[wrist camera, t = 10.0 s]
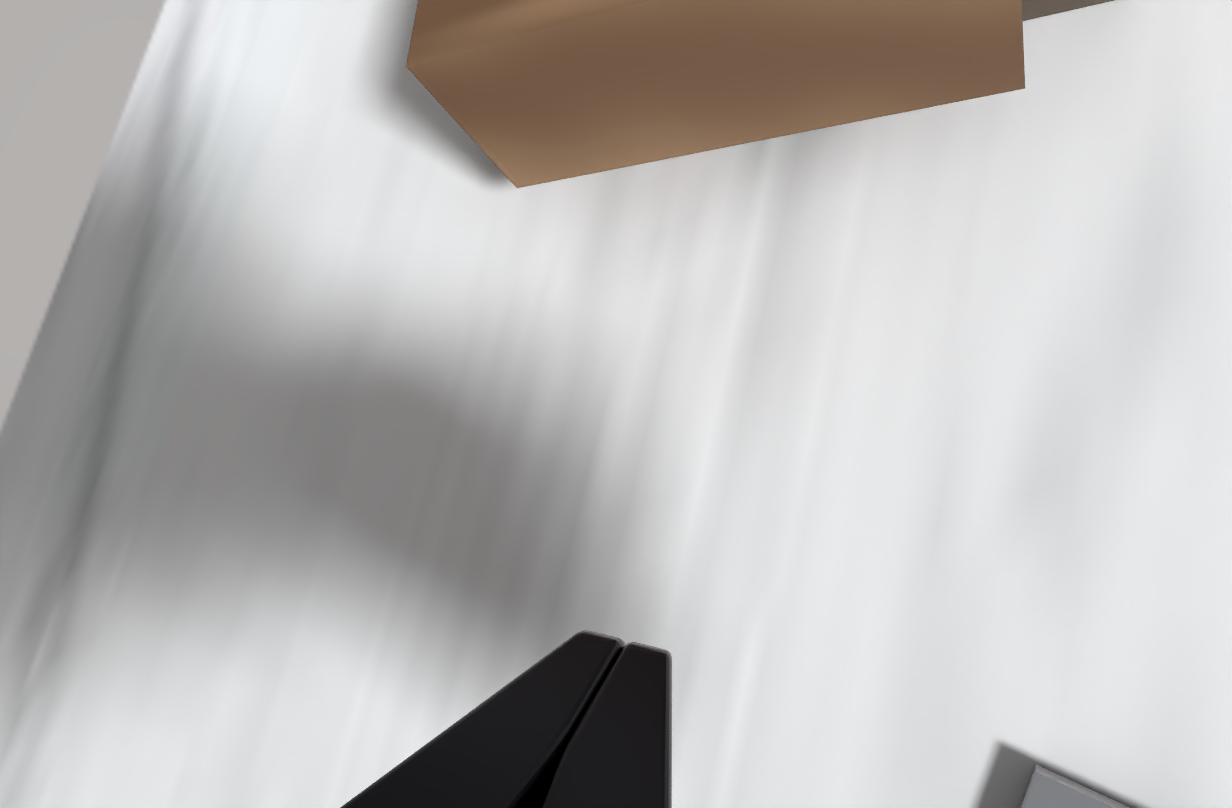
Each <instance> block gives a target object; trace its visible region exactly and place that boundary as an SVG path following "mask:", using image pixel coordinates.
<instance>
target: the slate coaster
mask: <svg viewBox="0 0 1232 808" xmlns="http://www.w3.org/2000/svg"><path fill="white" fill-rule="evenodd" d="M1020 808H1130V807H1128V806H1126V805H1124V804H1121V803H1119V802H1117V801H1115V800H1113V799H1111V798H1108V797H1106V796H1104V795H1102V794H1100V793H1097V792H1095V791H1093V790H1091V789H1089V788H1087V787H1084V786H1082V785H1080V784H1078V783H1076V782H1074V781H1071V780H1069V779H1067V778H1065V777H1063V776H1060V775H1058V774H1056V773H1054V772H1052V771H1050V770H1047V769H1045V768H1043V767H1041V766H1039V765H1037V764H1036V766H1035V769H1034V772H1033V774H1032V777H1031V780H1030V783H1029V785H1028V788H1027V791H1026V794H1025V796H1024V799H1023V802H1022V804H1021V807H1020Z"/></svg>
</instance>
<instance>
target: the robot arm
mask: <svg viewBox="0 0 1232 808" xmlns="http://www.w3.org/2000/svg"><path fill="white" fill-rule="evenodd" d="M341 808H672V657H671V654H670V653H669V652H668V651H667V650H664V649H660V648H656V647H652V646H648V645H644V644H640V643H636V642H631V643H628V644H627V645H626V644H625V642H624V641H623V640H621V639H619V638H616V637H612V636H608V635H604V634H600V633H596V632H592V631H582V632H579V633H577V634H575V635H574V636H572V637H571V638H570V639H568V640H567V641H566V642H564V643H563V644H562V645H560V646H559V647H558V648H556V649H555V650H553V651H552V652H551V653H549V654H548V655H547V656H545V657H544V658H543V659H541V660H540V661H539V662H537V663H536V664H534V665H533V666H532V667H530V668H529V669H528V670H526V671H525V672H524V673H522V674H521V675H520V676H518V677H517V678H515V679H514V680H513V681H511V682H510V683H509V684H507V685H506V686H505V687H503V688H502V689H501V690H499V691H498V692H496V693H495V694H494V695H492V696H491V697H490V698H488V699H487V700H486V701H484V702H483V703H482V704H480V705H479V706H478V707H476V708H475V709H473V710H472V711H471V712H469V713H468V714H467V715H465V716H464V717H463V718H461V719H460V720H459V721H457V722H456V723H454V724H453V725H452V726H450V727H449V728H448V729H446V730H445V731H444V732H442V733H441V734H440V735H438V736H437V737H435V738H434V739H433V740H431V741H430V742H429V743H427V744H426V745H425V746H423V747H422V748H421V749H419V750H418V751H416V752H415V753H414V754H412V755H411V756H410V757H408V758H407V759H406V760H404V761H403V762H402V763H400V764H399V765H398V766H396V767H395V768H393V769H392V770H391V771H389V772H388V773H387V774H385V775H384V776H383V777H381V778H380V779H379V780H377V781H376V782H374V783H373V784H372V785H370V786H369V787H368V788H366V789H365V790H364V791H362V792H361V793H360V794H358V795H357V796H355V797H354V798H353V799H351V800H350V801H349V802H347V803H346V804H345V805H343V806H342V807H341Z"/></svg>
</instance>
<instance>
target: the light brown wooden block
mask: <svg viewBox="0 0 1232 808" xmlns="http://www.w3.org/2000/svg"><path fill="white" fill-rule="evenodd" d="M406 67H407V68H408V69H409V70H410V71H411V72H412V73H413V74H414V76H415V77H416V78H417V79H418V80H419V81H420V82H421V83H422V84H423V85H424V87H425V88H426V89H427V90H428V91H429V92H430V93H431V94H432V95H433V96H434V98H435V99H436V100H437V101H438V102H439V103H440V104H441V105H442V106H443V107H444V108H445V110H446V111H447V112H448V113H449V114H450V115H451V116H452V117H453V118H454V119H455V121H456V122H457V123H458V124H459V125H460V126H461V127H462V128H463V129H464V130H465V132H466V133H467V134H468V135H469V136H470V137H471V138H472V139H473V140H474V141H475V143H476V144H477V145H478V146H479V147H480V148H481V149H482V150H483V151H484V152H485V154H486V155H487V156H488V157H489V158H490V159H491V160H492V161H493V162H494V163H495V165H496V166H497V167H498V168H499V169H500V170H501V171H502V172H503V173H504V174H505V176H506V177H507V178H508V179H509V180H510V181H511V182H512V183H513V184H514V185H515V187H516V188H520V187H525V186H530V185H536V184H541V183H546V182H551V181H556V180H561V179H566V178H571V177H576V176H581V175H586V174H591V173H597V172H602V171H607V170H612V169H617V168H622V167H627V166H632V165H637V164H642V163H647V162H653V161H658V160H663V159H668V158H673V157H678V156H683V155H688V154H693V153H698V152H703V151H709V150H714V149H719V148H724V147H729V146H734V145H739V144H744V143H749V142H754V141H759V140H765V139H770V138H775V137H780V136H785V135H790V134H795V133H800V132H805V131H810V130H815V129H820V128H826V127H831V126H836V125H841V124H846V123H851V122H856V121H861V120H866V119H871V118H876V117H882V116H887V115H892V114H897V113H902V112H907V111H912V110H917V109H922V108H927V107H932V106H938V105H943V104H948V103H953V102H958V101H963V100H968V99H973V98H978V97H983V96H988V95H994V94H999V93H1004V92H1009V91H1014V90H1019V89H1024V88H1025V75H1024V50H1023V25H1022V1H1021V0H418V5H417V11H416V16H415V21H414V27H413V32H412V38H411V43H410V48H409V54H408V59H407V65H406Z"/></svg>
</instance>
